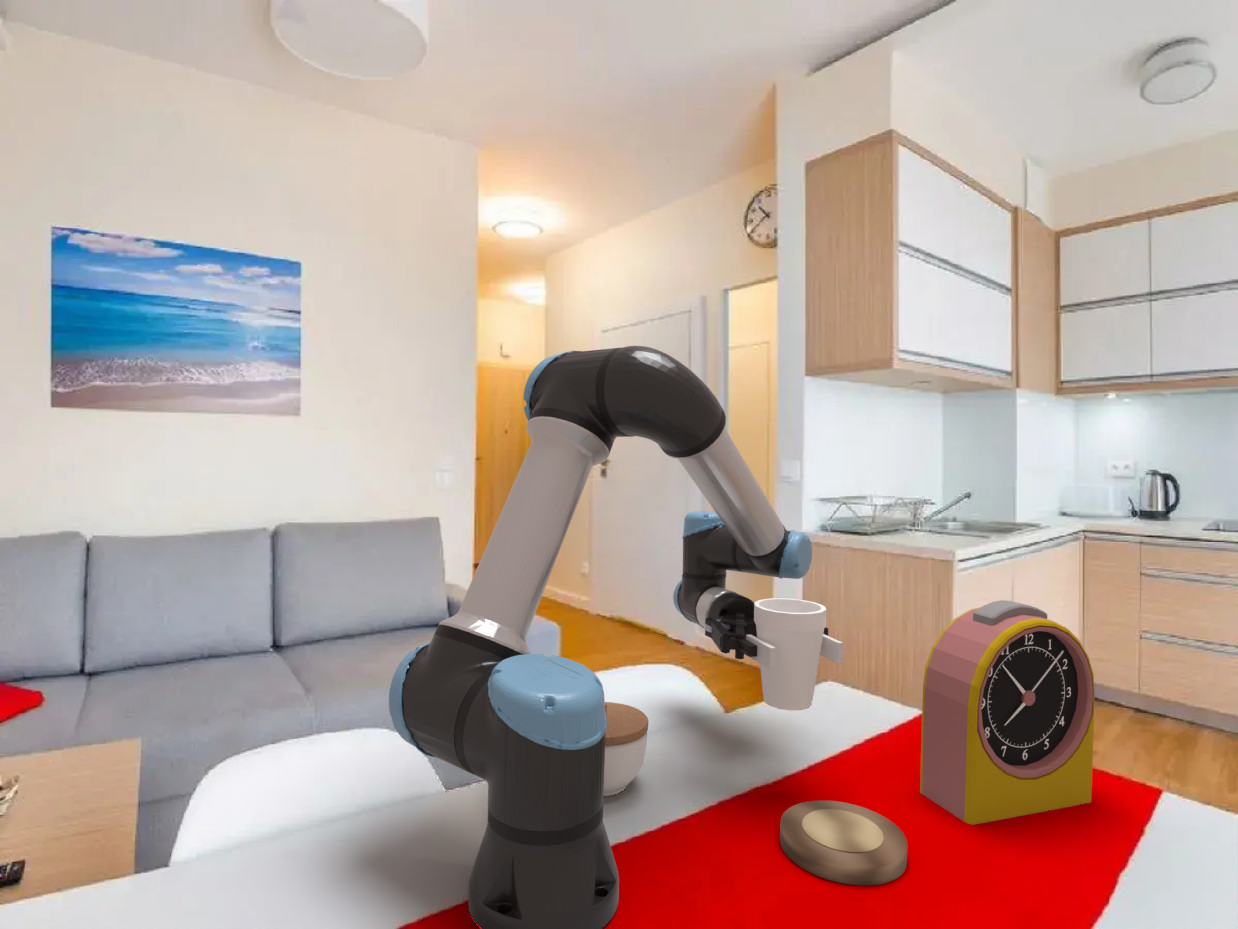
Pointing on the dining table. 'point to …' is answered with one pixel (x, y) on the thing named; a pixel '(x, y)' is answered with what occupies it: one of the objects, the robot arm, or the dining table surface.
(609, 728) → the lidded bowl
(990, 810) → the alarm clock
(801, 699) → the foam cup
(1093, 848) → the dining table surface
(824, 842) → the walnut stand
